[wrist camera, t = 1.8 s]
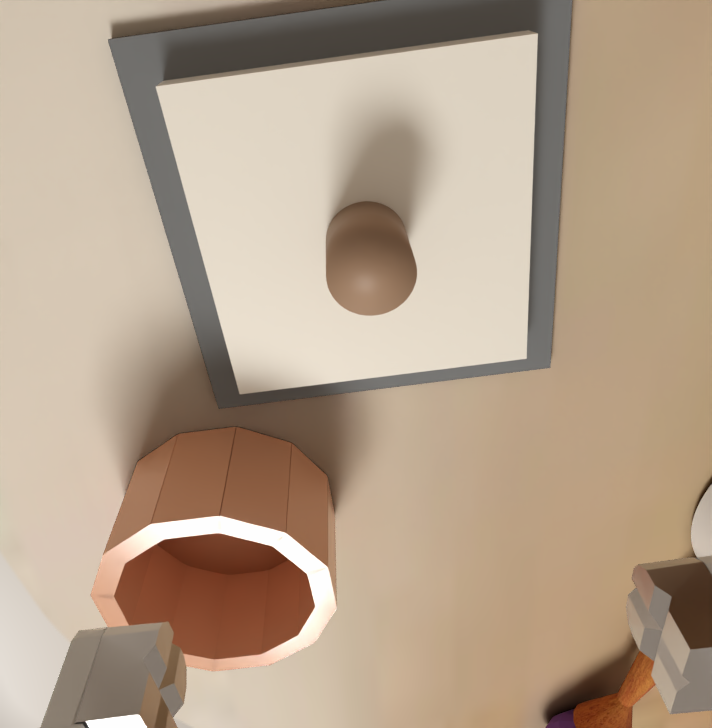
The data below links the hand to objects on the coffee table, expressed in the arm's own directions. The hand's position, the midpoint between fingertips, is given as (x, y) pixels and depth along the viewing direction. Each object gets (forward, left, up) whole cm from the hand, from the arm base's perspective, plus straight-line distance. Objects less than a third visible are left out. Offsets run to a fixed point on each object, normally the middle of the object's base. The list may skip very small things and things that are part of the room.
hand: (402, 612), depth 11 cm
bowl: (+9, +15, -18) cm, 25 cm away
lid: (0, 0, -18) cm, 18 cm away
